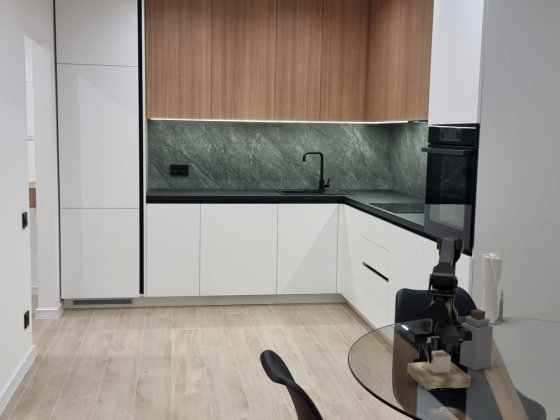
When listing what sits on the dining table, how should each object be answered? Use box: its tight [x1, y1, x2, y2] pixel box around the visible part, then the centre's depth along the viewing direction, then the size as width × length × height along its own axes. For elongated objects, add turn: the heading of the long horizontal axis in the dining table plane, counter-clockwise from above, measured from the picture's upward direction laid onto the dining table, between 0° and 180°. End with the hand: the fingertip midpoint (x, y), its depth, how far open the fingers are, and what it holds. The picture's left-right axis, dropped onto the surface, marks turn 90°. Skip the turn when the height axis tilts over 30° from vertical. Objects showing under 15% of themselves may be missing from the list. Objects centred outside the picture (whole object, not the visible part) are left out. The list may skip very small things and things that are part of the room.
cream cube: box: [427, 350, 452, 373], centre depth 205 cm, size 5×5×5 cm
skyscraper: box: [480, 252, 504, 326], centre depth 261 cm, size 8×8×28 cm
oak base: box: [406, 361, 472, 391], centre depth 205 cm, size 14×14×3 cm
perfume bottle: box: [459, 308, 494, 371], centre depth 217 cm, size 7×7×18 cm
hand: (438, 362), depth 205 cm, fingers open, 6 cm apart
